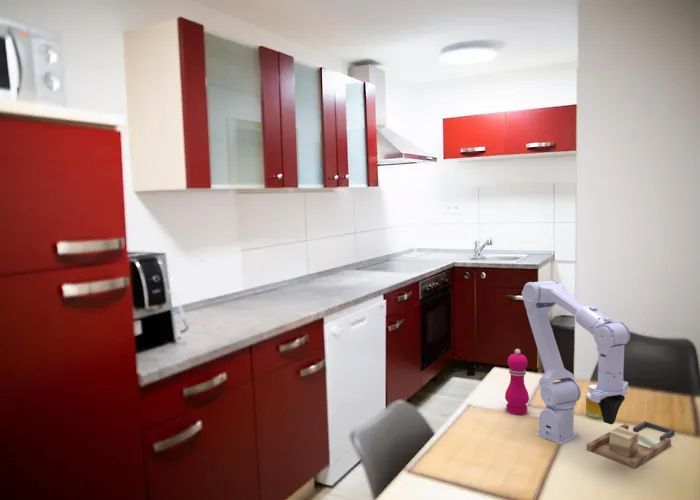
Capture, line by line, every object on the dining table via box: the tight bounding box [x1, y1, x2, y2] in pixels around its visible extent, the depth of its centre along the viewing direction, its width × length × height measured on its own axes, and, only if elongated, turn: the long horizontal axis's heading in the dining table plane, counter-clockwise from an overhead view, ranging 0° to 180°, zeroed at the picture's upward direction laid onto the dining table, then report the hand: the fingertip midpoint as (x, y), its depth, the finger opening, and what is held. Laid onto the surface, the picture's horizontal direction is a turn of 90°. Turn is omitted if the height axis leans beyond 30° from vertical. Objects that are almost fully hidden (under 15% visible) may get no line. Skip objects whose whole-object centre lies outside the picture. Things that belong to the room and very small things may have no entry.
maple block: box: [609, 426, 639, 457], centre depth 140 cm, size 5×5×5 cm
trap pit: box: [632, 421, 675, 441], centre depth 150 cm, size 7×8×2 cm
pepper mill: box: [504, 348, 530, 415], centre depth 167 cm, size 7×7×20 cm
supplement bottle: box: [585, 384, 603, 421], centre depth 161 cm, size 5×5×10 cm
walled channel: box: [586, 423, 672, 470], centre depth 142 cm, size 20×12×2 cm, turn 126°
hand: (608, 422), depth 134 cm, fingers closed
